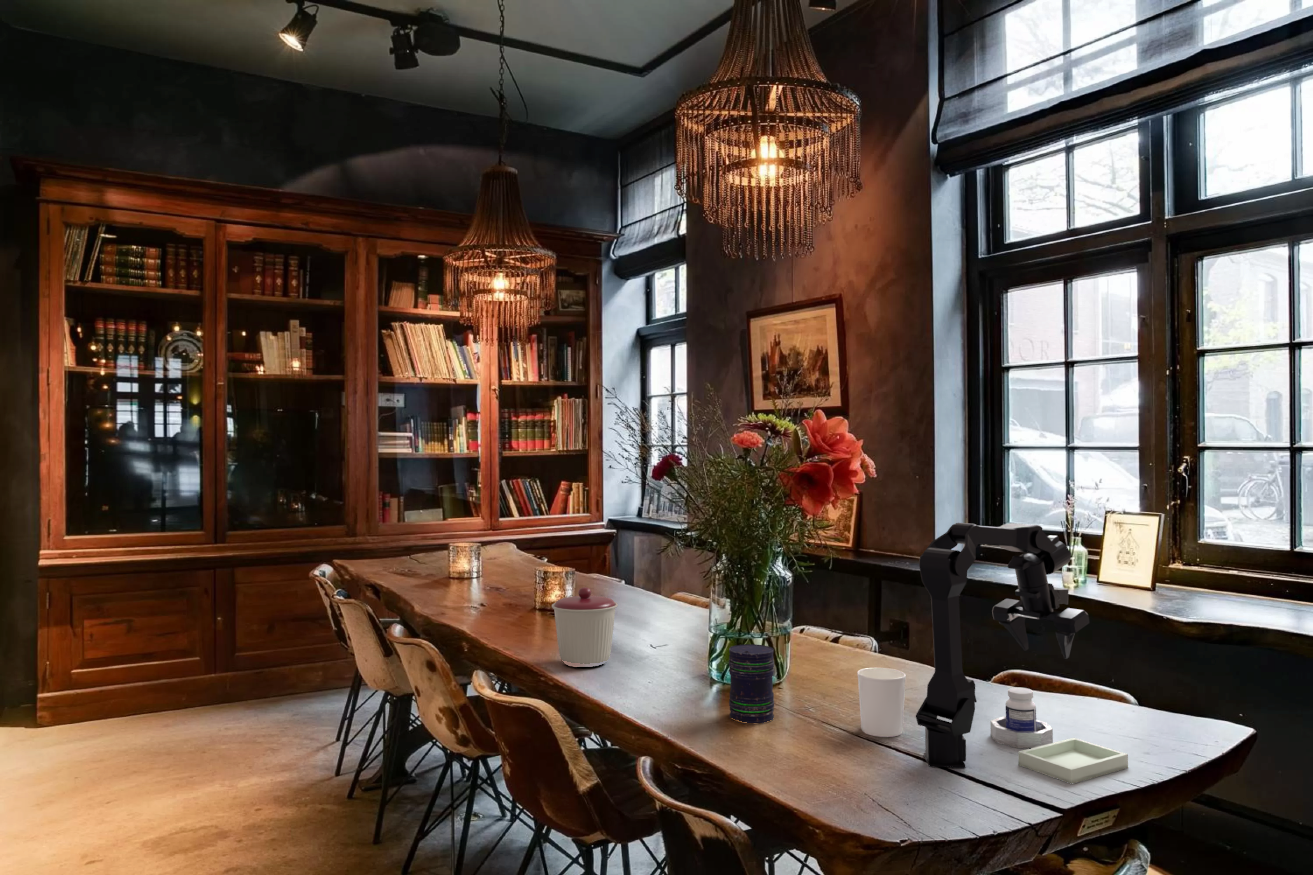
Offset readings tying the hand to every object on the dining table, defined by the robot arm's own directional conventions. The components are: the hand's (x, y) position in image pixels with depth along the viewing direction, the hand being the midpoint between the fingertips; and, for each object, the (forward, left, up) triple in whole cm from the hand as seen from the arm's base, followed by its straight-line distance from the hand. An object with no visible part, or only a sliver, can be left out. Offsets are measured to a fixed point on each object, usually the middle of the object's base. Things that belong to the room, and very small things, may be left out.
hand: (1046, 653), depth 186 cm
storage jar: (-61, +4, -16) cm, 63 cm away
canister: (-107, +49, -16) cm, 119 cm away
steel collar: (-7, -6, -16) cm, 18 cm away
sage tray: (-2, -21, -16) cm, 26 cm away
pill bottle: (-7, -6, -16) cm, 19 cm away
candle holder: (-34, -3, -16) cm, 38 cm away
